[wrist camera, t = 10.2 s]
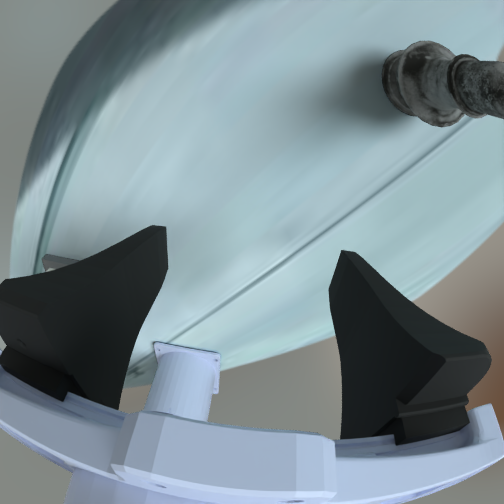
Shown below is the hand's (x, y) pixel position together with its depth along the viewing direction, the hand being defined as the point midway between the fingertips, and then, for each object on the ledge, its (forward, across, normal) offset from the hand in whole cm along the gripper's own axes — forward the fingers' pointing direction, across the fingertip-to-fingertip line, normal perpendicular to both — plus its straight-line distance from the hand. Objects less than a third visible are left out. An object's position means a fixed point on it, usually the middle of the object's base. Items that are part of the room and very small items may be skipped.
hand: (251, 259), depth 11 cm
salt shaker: (+11, -10, -10) cm, 18 cm away
